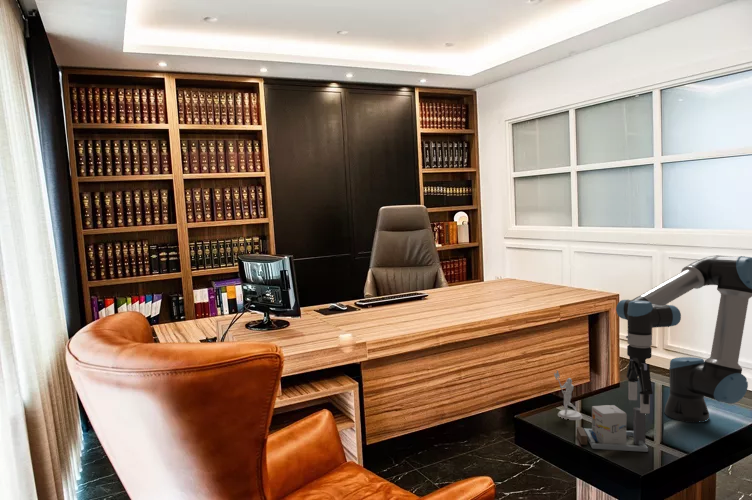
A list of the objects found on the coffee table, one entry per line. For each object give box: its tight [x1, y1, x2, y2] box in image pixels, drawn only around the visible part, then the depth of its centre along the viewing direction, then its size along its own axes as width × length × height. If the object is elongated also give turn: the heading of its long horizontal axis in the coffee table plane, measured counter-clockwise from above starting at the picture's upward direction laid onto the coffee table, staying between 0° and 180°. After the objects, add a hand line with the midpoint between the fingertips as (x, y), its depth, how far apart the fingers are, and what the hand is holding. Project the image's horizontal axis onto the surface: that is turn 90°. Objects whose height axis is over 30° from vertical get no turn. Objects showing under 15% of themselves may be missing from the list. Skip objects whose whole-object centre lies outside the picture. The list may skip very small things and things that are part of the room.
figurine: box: [553, 370, 584, 421], centre depth 206 cm, size 10×10×18 cm
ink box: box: [591, 404, 628, 445], centre depth 181 cm, size 9×8×12 cm
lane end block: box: [576, 426, 588, 446], centre depth 183 cm, size 2×8×3 cm, turn 169°
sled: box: [583, 406, 649, 453], centre depth 180 cm, size 18×14×12 cm
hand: (638, 406), depth 179 cm, fingers open, 13 cm apart
